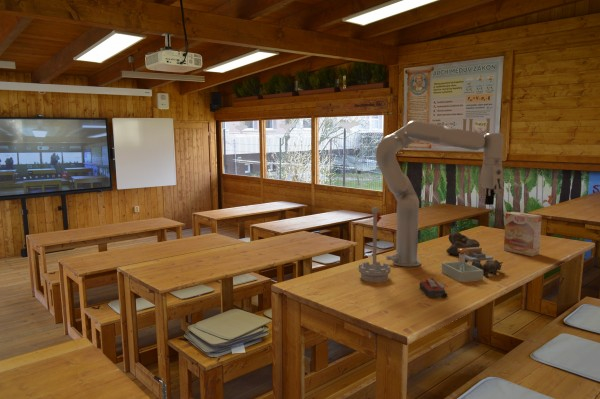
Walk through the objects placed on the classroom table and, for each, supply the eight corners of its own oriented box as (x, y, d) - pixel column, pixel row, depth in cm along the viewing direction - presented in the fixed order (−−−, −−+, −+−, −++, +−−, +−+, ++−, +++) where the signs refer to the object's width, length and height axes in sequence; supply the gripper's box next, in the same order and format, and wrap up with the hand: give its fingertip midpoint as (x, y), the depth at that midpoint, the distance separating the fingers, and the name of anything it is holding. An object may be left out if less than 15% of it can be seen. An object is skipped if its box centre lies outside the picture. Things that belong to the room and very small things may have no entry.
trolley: (474, 272, 201) (475, 254, 200) (456, 263, 215) (457, 246, 214) (497, 270, 204) (497, 252, 203) (477, 261, 217) (478, 245, 216)
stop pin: (460, 276, 194) (461, 250, 192) (455, 273, 197) (455, 248, 196) (467, 275, 195) (468, 249, 193) (462, 273, 198) (463, 247, 197)
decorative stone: (478, 247, 221) (448, 233, 226) (468, 267, 225) (439, 252, 230) (483, 239, 235) (454, 225, 240) (473, 257, 238) (445, 243, 244)
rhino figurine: (506, 272, 201) (507, 258, 200) (488, 278, 193) (489, 264, 192) (497, 270, 205) (498, 256, 204) (479, 276, 196) (480, 262, 195)
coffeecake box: (503, 250, 238) (505, 212, 235) (510, 248, 242) (512, 211, 239) (532, 256, 226) (535, 216, 223) (539, 254, 230) (542, 215, 227)
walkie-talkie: (453, 299, 170) (434, 282, 190) (453, 287, 170) (434, 271, 189) (429, 300, 170) (412, 282, 189) (429, 288, 169) (413, 272, 189)
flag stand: (379, 285, 186) (380, 210, 182) (352, 278, 194) (352, 207, 190) (396, 277, 196) (397, 206, 191) (369, 271, 204) (370, 203, 200)
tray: (460, 282, 188) (461, 272, 188) (441, 272, 202) (441, 263, 201) (482, 280, 191) (483, 270, 190) (462, 270, 204) (462, 261, 204)
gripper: (511, 163, 193) (507, 207, 196) (489, 160, 208) (486, 201, 211) (495, 163, 192) (491, 207, 194) (474, 160, 206) (471, 202, 209)
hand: (489, 204), depth 202 cm, fingers closed
